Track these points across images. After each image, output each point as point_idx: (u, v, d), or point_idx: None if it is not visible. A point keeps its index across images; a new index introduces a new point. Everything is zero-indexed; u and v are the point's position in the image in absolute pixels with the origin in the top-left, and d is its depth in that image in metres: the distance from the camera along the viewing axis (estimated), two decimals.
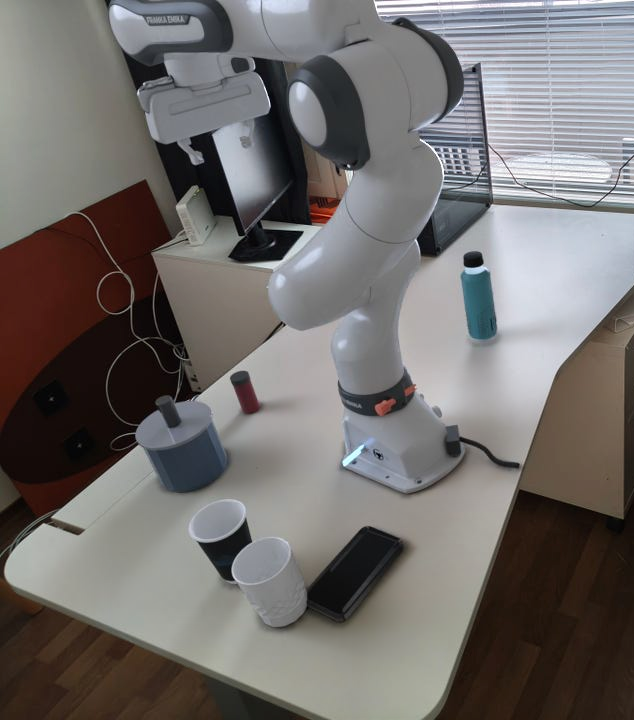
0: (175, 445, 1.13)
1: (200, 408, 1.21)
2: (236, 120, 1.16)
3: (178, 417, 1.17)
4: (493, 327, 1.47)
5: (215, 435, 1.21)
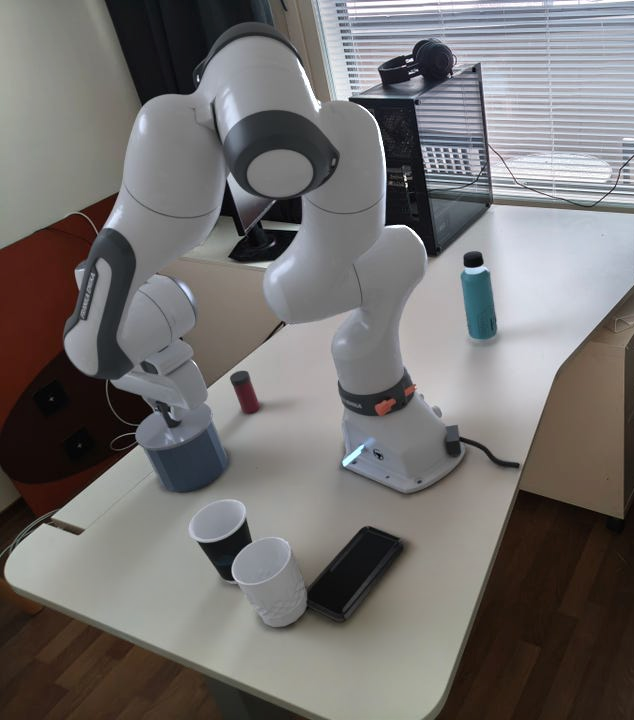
0: (175, 445, 1.13)
1: (200, 408, 1.21)
2: (164, 401, 1.12)
3: None
4: (493, 327, 1.47)
5: (215, 435, 1.21)
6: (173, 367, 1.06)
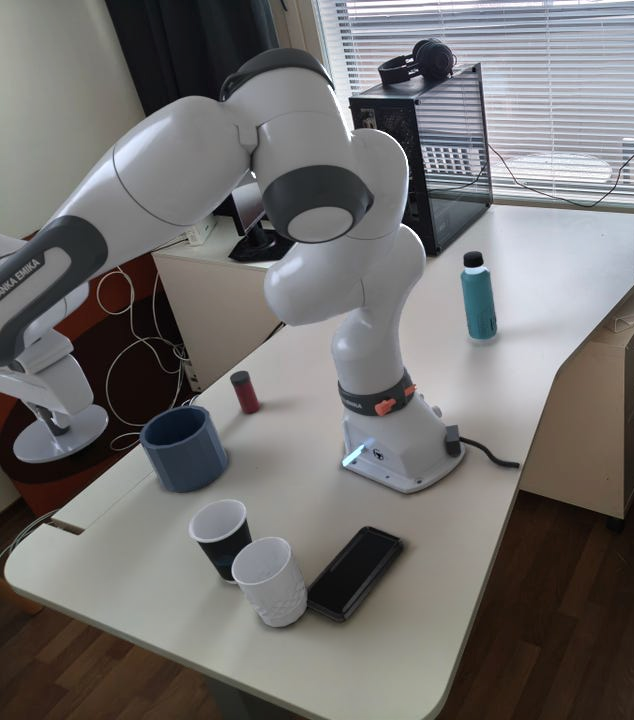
0: (57, 457, 0.96)
1: (95, 412, 1.03)
2: (42, 405, 0.94)
3: None
4: (493, 327, 1.47)
5: (215, 435, 1.21)
6: (44, 364, 0.88)
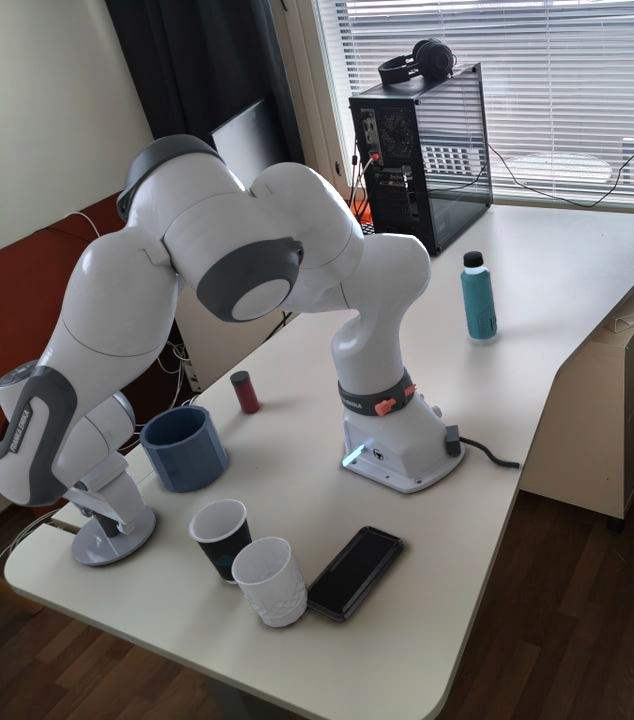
0: (112, 560, 1.06)
1: (143, 513, 1.14)
2: (99, 512, 1.05)
3: None
4: (493, 327, 1.47)
5: (215, 435, 1.21)
6: (105, 483, 0.99)
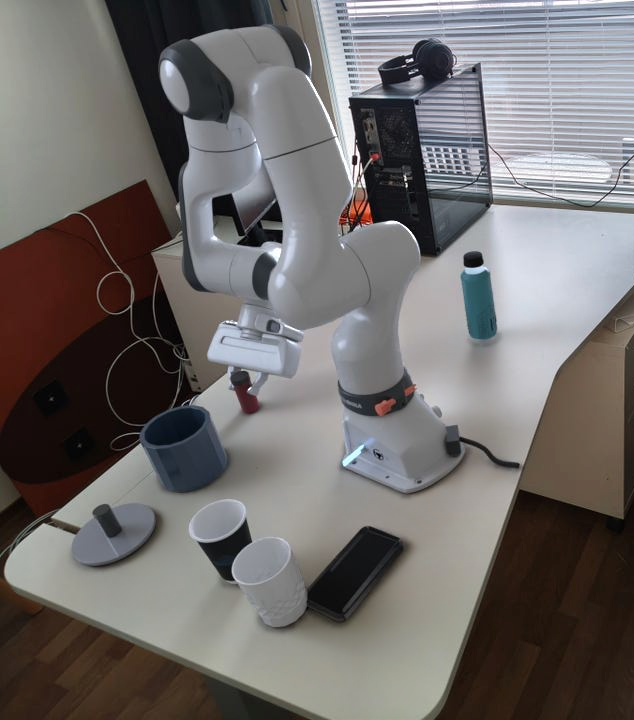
0: (112, 560, 1.06)
1: (143, 513, 1.14)
2: (256, 368, 1.33)
3: (118, 526, 1.11)
4: (493, 327, 1.47)
5: (215, 435, 1.21)
6: (290, 334, 1.32)
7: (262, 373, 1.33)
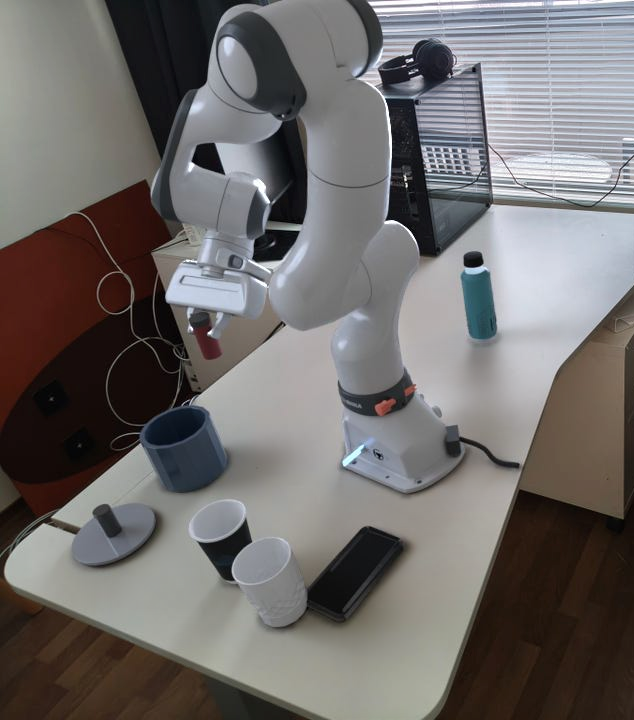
0: (112, 560, 1.06)
1: (143, 513, 1.14)
2: (217, 308, 1.21)
3: (118, 526, 1.11)
4: (493, 327, 1.47)
5: (215, 435, 1.21)
6: (254, 270, 1.20)
7: (224, 314, 1.21)
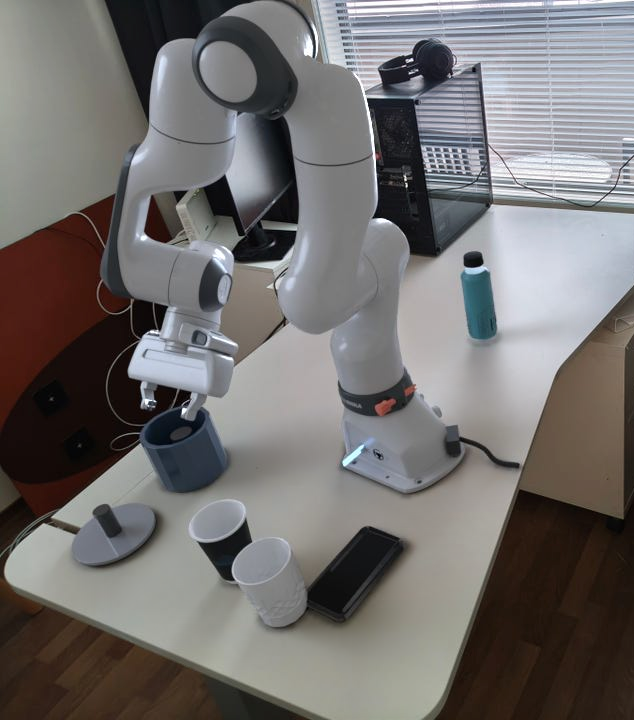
0: (112, 560, 1.06)
1: (143, 513, 1.14)
2: (180, 386, 1.14)
3: (118, 526, 1.11)
4: (493, 327, 1.47)
5: (215, 435, 1.21)
6: (220, 347, 1.13)
7: (198, 394, 1.14)
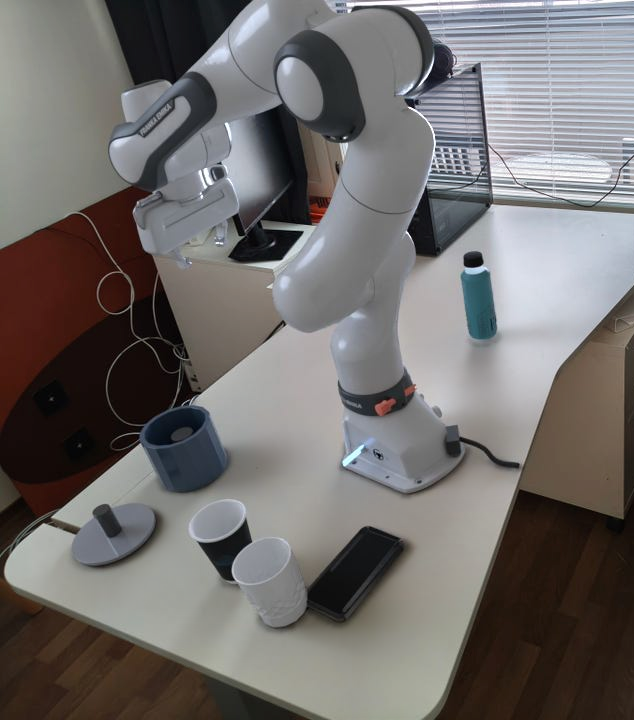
0: (112, 560, 1.06)
1: (143, 513, 1.14)
2: (215, 223, 1.24)
3: (118, 526, 1.11)
4: (493, 327, 1.47)
5: (215, 435, 1.21)
6: None
7: None
